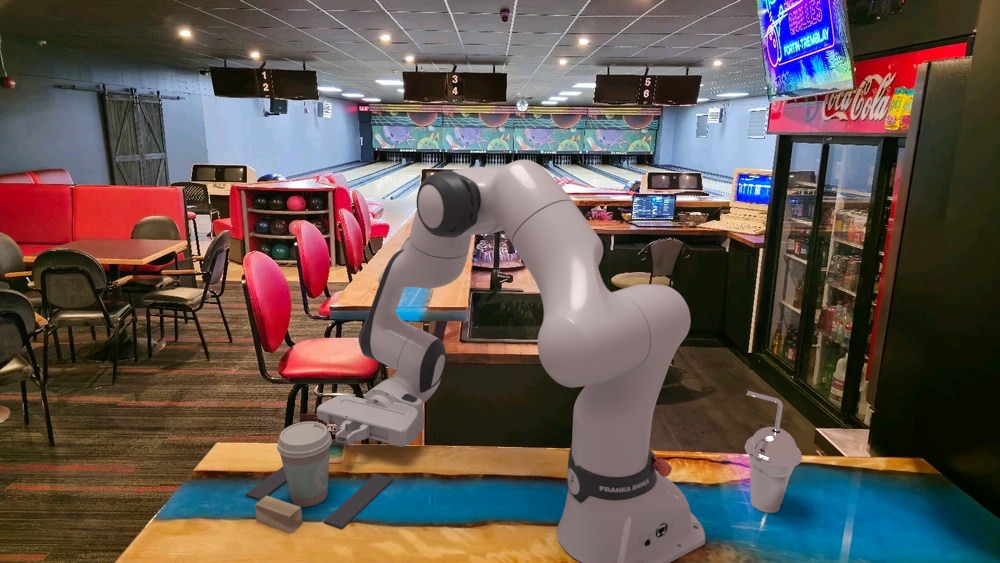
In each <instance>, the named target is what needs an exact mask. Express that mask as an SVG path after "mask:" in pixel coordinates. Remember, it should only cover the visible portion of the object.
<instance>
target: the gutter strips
mask: <svg viewBox="0 0 1000 563" xmlns="http://www.w3.org/2000/svg"><path fill="white" fill-rule="evenodd" d="M393 481H394V478H393V477H388V476H385V475H383V474H378V473H375V474H374V475H373V476H372V477H370V479H369V480H367V481H366V482H365V483H364V484H363V485H362V486H361V487H360V488H359V489H358V490H356V491H355V492H354V493H353V494H351V496H350V497H348V499H347V500H346V501H344V502H343V503H342V504H340V505H339V507H338V508H336V509H335V510H334V511H333V512H332V513H331V514H330V515H329V516H327V517H326V519H324V520H323V523H324V524H326V525H329V526H331V527H335V528H337V529H340V530H343V529H344V528H345V527H346V526H347V525H349V523H350V522H352V520H353V519H355V518H356V517H357V516H358V515H359V514H360V513H361V512H362V511H363V510H364V509H365V508H366V507H367V506H369V504H370V503H372V501H374V499H376V498H377V497H378V496H379V495H380V493H382V492H383V491H385V489H386V488H387V487H388V486H389V485H390V484H391V483H392V482H393ZM286 483H287V479H286V475H285V471H284V467H283V466H281V467H280V468H279V469H277V470H276V471H274V472H273V473H272V474H271V475H269V476H268V477H266V478H265V479H263V480H262V481H261V482H259V483H258V484H257V485H255V486H254V487H252V488H251V489H250V490H248V491H247V492H246V493H245V496H246V497H248V498H251V499H254V500H256V501H258V502H259V501H260V500H261V499H263V498H264V497H265V496H270V495H272V494H273V493H274V492H275V491H277V490H278V489H279V488H281V487H282V486H283V485H285V484H286Z"/></svg>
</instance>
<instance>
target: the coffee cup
mask: <svg viewBox="0 0 1000 563" xmlns="http://www.w3.org/2000/svg"><path fill="white" fill-rule="evenodd" d="M332 442H333V439H332V436H331V432H330V431H329V430H328V427H326V426H325V425H324V424H322V423H319V422H318V421H301V422H297V423H294V424H291V425H289V426H287V427H286V428H284V429H283V430H282V431H281V432H280V434H279V439H278V441H277V445H276V450H277V452H278V453H279V454H280V459H281V462H282V467H284V471H285V475H286V479H287V482H286V483H287V487H288V490H289V495H290V499H291V503H292V504H293V505H296V506H299V507H301V508H308V507H312V506H316V505H319V504H320V503H322V502H323V501H325V499H327V497H328V494H329V492H328V491H329V472H330V470H329V469H330V452H331V451H330V450H331V449H330V448H331V444H332Z"/></svg>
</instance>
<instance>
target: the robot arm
mask: <svg viewBox="0 0 1000 563" xmlns="http://www.w3.org/2000/svg"><path fill="white" fill-rule="evenodd" d="M415 210H416V211H415V214H414V216H413V220H412V224H411V228H410V233H409V238H408V243H407V244H406V245H407V246H406V247H405V249H399V250H398V251H397V252H395V253H394V254H393V255H392V256H391V258H390V259H389V261H388V262H387V264H386V266H385V268H384V271H383V273H382V276H381V279H380V282H379V284H378V287H377V290H376V292H375V295H374V298H373V302H372V304H371V307H370V310H369V313H368V314H367V316H366V319H365V320H364V322H363V324H362V326H361V328H360V331H359V334H358V337H357V338H358V339H357V340H358V344H359V348H360V351H361V353H362V355H363V356H365V357H366V358H368V359H370V360H371V359H372V360H373V361H377V362H379V363H382V364H383V365H385V366H387V367H388V368H391V369H393V370H395V372H394V373H393V374H391V375H390V377H389V378H387V379H384V380H382V381H381V382H380V383H378V384H377V385H375V386H374V387H373V388H371V389H370V390H368V391H367V392H366V393H365V395H364V397H363V398H362V397H357V396H354V395H349V394H340V395H337V396H335V397H332V398H330V399H328V400H326V401H324V402H323V403H321V404H319V405H318V406H317V408H316V419H317V418H318V419H320V420H323V421H324V422H326V423H327V424H330V422H331V421H332V422H334V423H335V424H336V425H337V426H332V427H334V428H335V429H334V430H337V429H338V430H337V432H336V433H335V442H336V443H339V444H344V445H347V446H351V445H353V444H354V443H357V442H359V441H363V440H366V439H371V440H374V441H377V442H382V443H386V444H389V445H392V446H396V447H401V448H403V447H406V446H409V445H410V444H411V443H413V441H415V439H417V437H418V436H419V434H420V433H421V432H423V430H424V428H425V427H424V426H425V409H424V404H425V403H426V402H427V401H428V400H429V399H430V398H431V397H432V396H433V394H434V393H435V392H436V390H437V388H438V387H439V386H440V383H441V379H442V377H443V375H444V372H445V370H446V366H447V360H448V356H447V351H446V347H445V344H444V343H443V340H442V339H440V338H439V337H436V336H435V335H433V334H431V333H429V332H427V331H425V330H423V329H421V328H419V327H416V326H414V325H412V324H411V323H408V322H406V321H405V320H403V319H402V318H400V316H399V315H398V314H397V309H398V307H399V304H400V301H401V299H402V295H403V292H404V291H405V288H418V289H419V288H420V289H437V288H442V287H445V286H447V285H449V284H452V283H453V282H454V281H456V280H457V279H458V278H459V277H460V276H461V275H462V273H463V271H464V268H465V265H466V262H467V260H468V255H469V251H470V246H471V242H472V236H475V235H489V234H494V233H498V232H501V231H502V232H504V233H505V235H506V236H507V238H508V240H509V241H510V243H511V244H512V246H513V248H514V249H515V251H516V253H517V254H518V255H519V257H520V258H521V260H522V262H523V264H524V265H525V266H526V268H527V270H528V272H529V273H530V275H531V277H532V278H533V280H534V282H535V284H536V286H537V289H538V291H539V295H540V297H541V301H542V302H541V303H542V308H543V320H542V324H541V326H540V329H539V332H538V336H537V353H538V356H539V357H538V358H539V361H540V363H541V365H542V367H543V368H544V370H545V372H546V373H547V375H549V376H550V377H551V379H552V380H554V381H555V382H556V383H558V384H559V385H561V386H563V387H567V388H579V387H580V388H581V387H583V388H582V390H581V391H580V393H579V394H578V395H577V398H576V400H575V403H574V407H573V412H572V413H573V414H572V415H573V416H572V438H571V440H572V441H571V447H570V448H569V451H568V457H567V458H568V459H567V476H566V478H567V494H566V500H565V504H564V509H563V512H562V514H561V517H560V520H559V522H558V524H557V529H556V530H557V531H556V533H557V539H558V542H559V544H560V545H561V547H562V548H563V549H564V551H565V552H566V553H567V554H569V555H570V556H571V557H572V558H574V559H575V560H576V561H578V562H580V563H671V562H674V561H675V560H678V559H680V558H681V557H683V556H685V555H687V554H689V553H691V552H693V551H694V550H696V549H699V548H700V547H702V546H703V545H705V543H706V534H705V530H704V528H703V526H702V524H701V523H700V521H699V520H698V518H697V517H696V516H695V514H693V513H692V512H691V509H690V508H691V507H690V505H689V501H688V500H687V498H686V495H685V494H684V493H683V491H682V490H681V489H680V488H679V486H677V485H676V484H675V483H674V482H673V481H672V480H671V479H669V478H668V476H669V475H670V474H671V473H672V470H673V469H672V468H673V467H672V466H671V464H669V463H668V462H666V459H664V458H657V457H656V454H655V453H654V452H653V451H652V450H651V449H650V441H651V431H652V424H653V423H652V422H653V416H654V411H655V408H656V404H657V401H658V398H659V395H660V392H661V389H662V387H663V385H664V384H663V383H664V382H665V378H666V376H667V372H668V370H669V367H670V364H671V363H672V360H673V358H674V355H675V354H676V352H677V350H678V348H679V347H680V345H681V343H683V341H684V340H685V338H687V335H688V333H689V331H690V328H691V322H692V321H691V312H690V309H689V306H688V304H687V302H686V300H685V298H684V297H683V296H682V295H681V294H680V293H679V292H678V291H677V290H675V288H672V287H670V286H669V285H668V286H667V285H664V284H656V283H655V284H654V283H653V284H652V283H649V284H635V285H631V286H627V287H624V288H621V289H619V290H618V289H617V290H615V291H610V290H609V289H608V287H607V286H606V284H605V283H604V280H603V278H602V276H601V273H600V270H599V269H600V268H599V266H600V263H601V261H602V258H603V256H604V245H603V242H602V240H601V237H599V236H598V234H597V233H596V231H595V230H594V228H593V226H591V224H590V223H589V222H588V220H587V219H586V216H584V215H583V213H582V212H581V210H580V208H578V206H577V204H576V203H575V202H574V201H573V200H572V198H571V197H570V195H569V194H568V193H567V192H566V191H565V190H564V188H563V187H562V186H561V185H560V183H558V181H557V180H556V179H555V178H554V177H553V176H552V175H551V174H550V173H549V172H548V171H547V170H545V169H544V168H543V167H542V166H541V165H540V164H539V163H537V162H534V161H533V160H529V159H518V160H514V161H512V162H509V163H507V164H506V165H504V166H501V167H500V166H469V167H463V168H458V169H454V170H448V169H447V170H446V169H445V170H441V171H437V172H436V173H432V174H430V175H429V176H427V177H425V178H424V179H423V180H422V182H421V183H420V185H419V187H418V191H417V195H416V209H415ZM317 416H318V417H317ZM346 416H347V417H346ZM340 425H342V427H341V428H340V427H339V426H340ZM340 429H341V430H340Z"/></svg>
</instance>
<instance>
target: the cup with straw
mask: <svg viewBox="0 0 1000 563" xmlns="http://www.w3.org/2000/svg"><path fill="white" fill-rule="evenodd" d="M745 395H746V396H750V397H753V398H757V399H761V400H764V401H768V402H772V403H775V404H777V410H776V418H775V423H774V424H775V425H774V426H766V427H762V428H760V429H759V430H757V431H756V432H755V433H754V434H753V436H751V437H749V438H748V439H747V440H746V442H745V444H744V450H745V452H746V454H747V455H748V457H749V458H748V459H749V465H750V477H749V478H750V480H749V481H750V483H749V484H750V491H749V492H750V493H749V494H750V497H751V498H750V502H749V503H750V504H751V506H752V507H753V508H755V509H756V510H758V511H761V512H763V513H768V514H773V513H777V512H779V510H780V509H781V504H782V503H783V500H784V496H785V493H786V490H787V486H788V482H789V480H790V477H791V475H792V473H793V470H794V469H795V467H796V466H798V465H799V464H801V463H802V461H803V460H802V459H803V458H802V452H801V450H800V448H799V447H798V446H797V444H796V442H795V439H794V437H792V435H791V434H790V433H789V432H787V431H786V430H784V429H783V428H780V427H781V426H780V425H781V419H782V414H783V408H784V407H783V405H784V404H783V402H782V400H781V399H779V398H778V397H774V396H769V395H767V394H766V395H765V394H762V393H758V392H755V391H750V390H746V392H745Z"/></svg>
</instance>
